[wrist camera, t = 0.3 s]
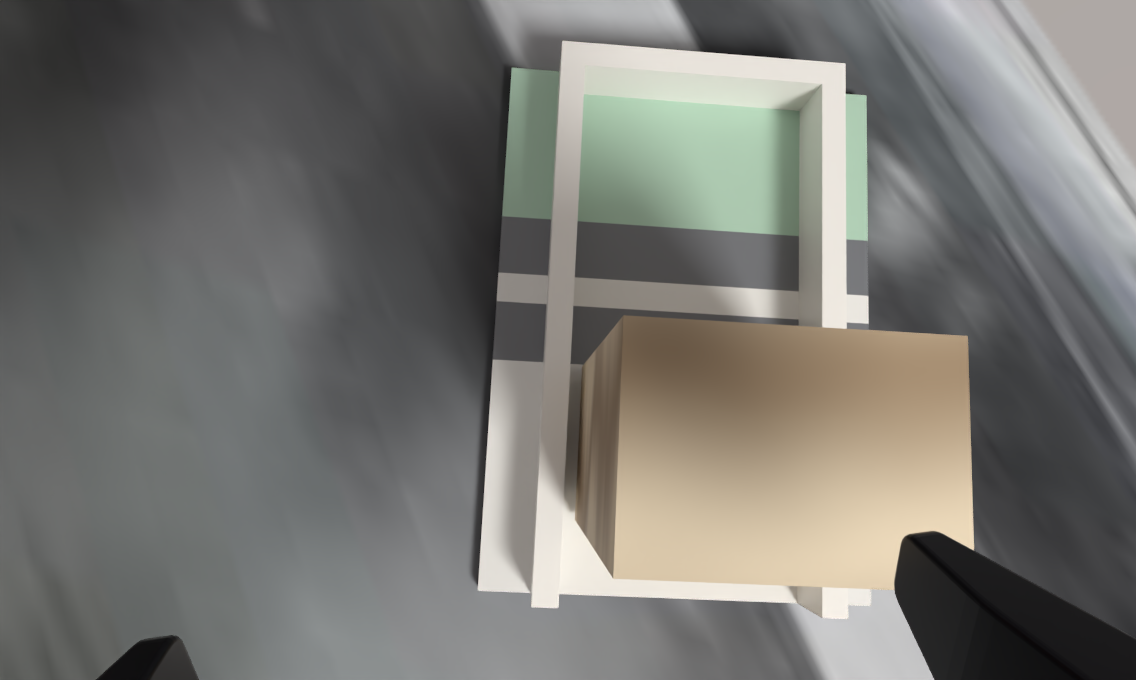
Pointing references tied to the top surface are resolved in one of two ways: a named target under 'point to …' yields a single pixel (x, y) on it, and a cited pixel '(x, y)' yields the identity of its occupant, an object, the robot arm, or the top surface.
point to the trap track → (655, 264)
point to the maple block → (771, 451)
